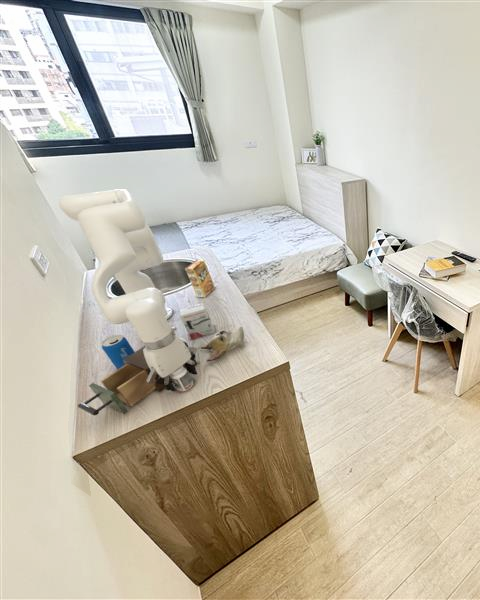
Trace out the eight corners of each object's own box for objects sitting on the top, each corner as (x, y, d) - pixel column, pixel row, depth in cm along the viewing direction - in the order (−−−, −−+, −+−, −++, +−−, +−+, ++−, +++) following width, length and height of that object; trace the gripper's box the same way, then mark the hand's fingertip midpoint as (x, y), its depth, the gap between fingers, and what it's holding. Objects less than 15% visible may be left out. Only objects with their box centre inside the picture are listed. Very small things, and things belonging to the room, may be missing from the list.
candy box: (205, 297, 148) (193, 268, 139) (196, 297, 148) (184, 268, 140) (215, 287, 155) (204, 259, 147) (207, 287, 155) (195, 259, 147)
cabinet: (160, 392, 101) (145, 369, 95) (137, 382, 105) (122, 359, 99) (197, 363, 111) (186, 342, 106) (175, 355, 115) (163, 334, 109)
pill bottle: (193, 378, 106) (184, 360, 101) (193, 388, 102) (183, 369, 98) (177, 383, 104) (166, 365, 99) (176, 394, 100) (165, 375, 96)
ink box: (191, 340, 122) (179, 315, 116) (190, 333, 126) (178, 309, 119) (215, 332, 126) (205, 308, 120) (213, 326, 130) (203, 302, 123)
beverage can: (124, 375, 107) (105, 349, 100) (114, 369, 110) (96, 342, 103) (144, 363, 112) (128, 337, 105) (135, 357, 114) (118, 331, 108)
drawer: (106, 428, 89) (90, 409, 85) (85, 416, 92) (68, 398, 88) (164, 384, 103) (153, 365, 98) (144, 375, 106) (133, 357, 101)
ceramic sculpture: (245, 329, 113) (200, 350, 105) (253, 347, 118) (210, 368, 110) (236, 316, 120) (193, 335, 112) (244, 334, 125) (203, 352, 117)
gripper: (177, 319, 100) (198, 360, 110) (119, 355, 86) (148, 398, 96) (194, 325, 97) (214, 366, 107) (137, 362, 84) (165, 405, 94)
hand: (182, 381), depth 102 cm, fingers open, 6 cm apart
